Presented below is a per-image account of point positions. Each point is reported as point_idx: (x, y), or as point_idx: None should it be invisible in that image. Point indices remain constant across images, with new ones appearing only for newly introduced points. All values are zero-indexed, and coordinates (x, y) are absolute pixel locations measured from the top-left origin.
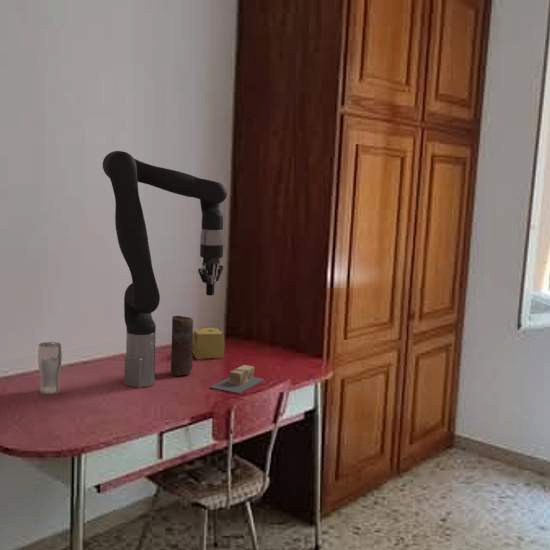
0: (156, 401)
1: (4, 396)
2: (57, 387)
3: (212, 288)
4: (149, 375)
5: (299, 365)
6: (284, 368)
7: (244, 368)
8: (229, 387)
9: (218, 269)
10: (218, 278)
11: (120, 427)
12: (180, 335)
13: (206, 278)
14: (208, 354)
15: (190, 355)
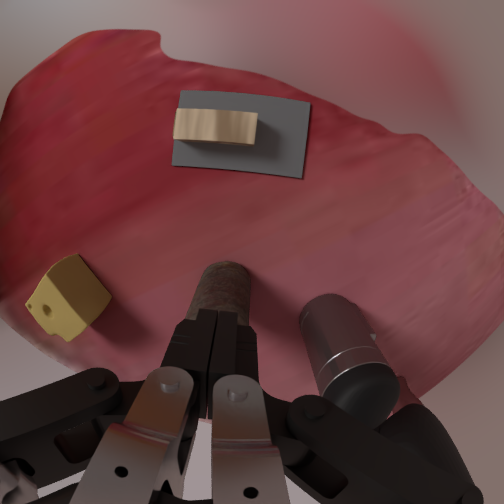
0: (409, 241)
1: None
2: (400, 382)
3: (228, 345)
4: (346, 305)
5: (53, 91)
6: (80, 101)
7: (205, 122)
8: (283, 135)
9: (7, 463)
10: (75, 386)
11: (491, 235)
12: None
13: (381, 445)
14: (92, 281)
15: (225, 278)
